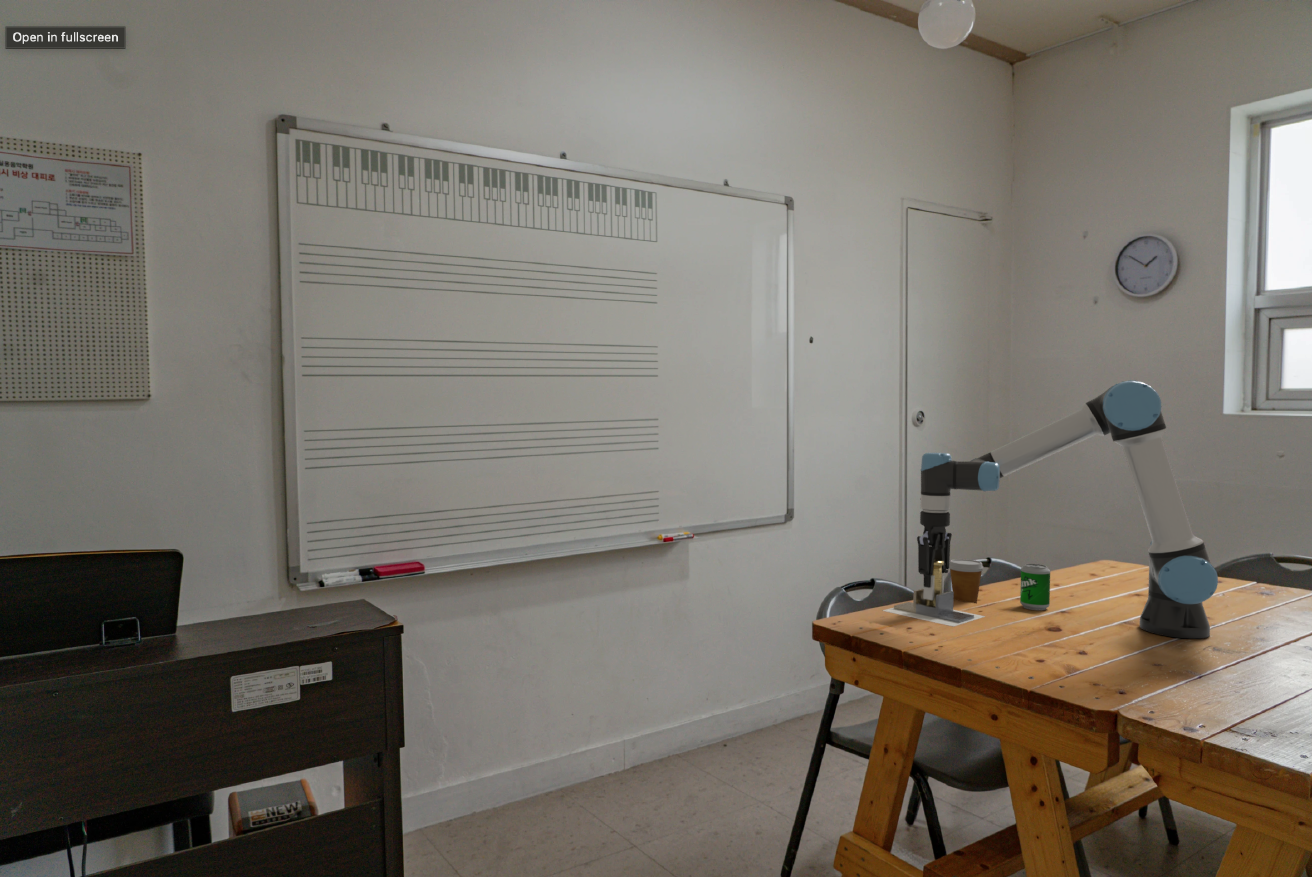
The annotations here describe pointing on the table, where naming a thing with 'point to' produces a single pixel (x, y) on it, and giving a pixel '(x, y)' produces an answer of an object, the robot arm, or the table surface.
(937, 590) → the pin
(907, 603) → the hinge
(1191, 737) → the table surface
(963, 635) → the table surface
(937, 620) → the board
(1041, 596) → the soda can
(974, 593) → the disposable coffee cup
